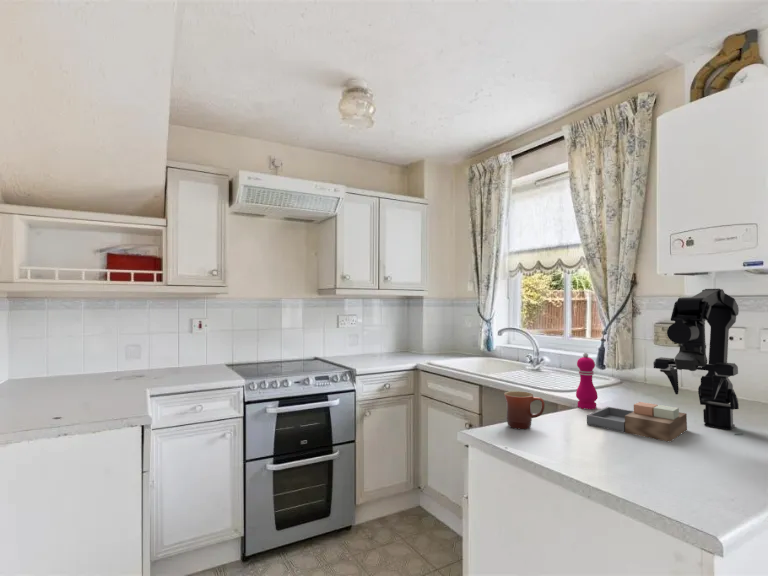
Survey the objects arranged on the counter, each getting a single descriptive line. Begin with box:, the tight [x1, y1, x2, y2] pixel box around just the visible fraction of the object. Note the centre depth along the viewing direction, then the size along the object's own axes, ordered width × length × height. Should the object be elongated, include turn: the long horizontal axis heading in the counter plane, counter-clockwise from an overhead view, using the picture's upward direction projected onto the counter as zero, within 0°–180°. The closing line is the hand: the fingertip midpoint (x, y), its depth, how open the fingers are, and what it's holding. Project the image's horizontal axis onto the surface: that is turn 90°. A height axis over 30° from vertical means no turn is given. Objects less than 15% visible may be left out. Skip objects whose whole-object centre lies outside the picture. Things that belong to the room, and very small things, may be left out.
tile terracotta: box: [633, 401, 659, 416], centre depth 130 cm, size 5×5×2 cm
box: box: [586, 406, 634, 433], centre depth 137 cm, size 11×16×3 cm
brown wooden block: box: [624, 412, 688, 443], centre depth 128 cm, size 12×16×5 cm
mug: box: [503, 390, 546, 430], centre depth 134 cm, size 12×9×10 cm
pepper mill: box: [575, 352, 598, 410], centre depth 158 cm, size 7×7×20 cm
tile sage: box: [654, 404, 680, 420], centre depth 126 cm, size 5×5×2 cm
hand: (694, 396), depth 121 cm, fingers open, 8 cm apart
